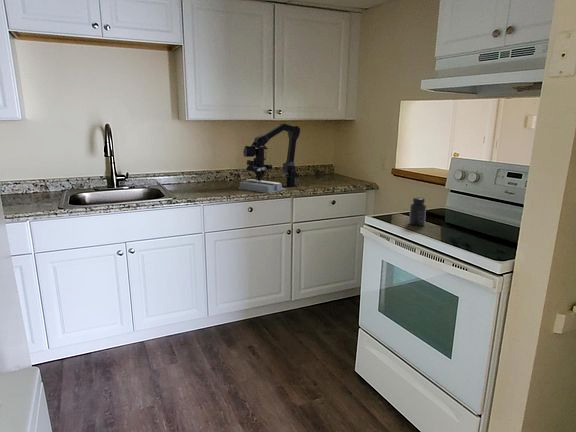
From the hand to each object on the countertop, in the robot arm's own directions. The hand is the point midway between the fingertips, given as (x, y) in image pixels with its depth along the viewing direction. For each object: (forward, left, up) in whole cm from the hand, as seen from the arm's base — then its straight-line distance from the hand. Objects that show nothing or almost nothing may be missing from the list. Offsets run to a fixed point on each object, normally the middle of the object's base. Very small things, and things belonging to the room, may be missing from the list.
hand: (259, 180), depth 273 cm
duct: (-1, +2, -5) cm, 6 cm away
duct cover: (-1, +2, -1) cm, 2 cm away
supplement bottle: (+23, +113, -5) cm, 115 cm away
